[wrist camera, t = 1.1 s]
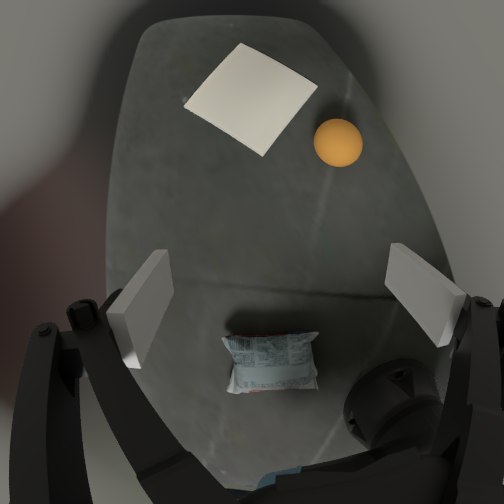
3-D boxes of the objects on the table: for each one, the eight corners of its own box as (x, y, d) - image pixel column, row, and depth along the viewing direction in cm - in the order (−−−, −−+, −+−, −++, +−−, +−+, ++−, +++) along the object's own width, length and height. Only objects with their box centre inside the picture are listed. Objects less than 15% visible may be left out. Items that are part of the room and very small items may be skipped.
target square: (317, 86, 30) (318, 86, 30) (262, 156, 32) (262, 156, 31) (240, 43, 30) (240, 42, 29) (183, 107, 31) (183, 106, 31)
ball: (361, 146, 31) (378, 134, 25) (338, 179, 32) (352, 172, 26) (325, 118, 31) (336, 102, 25) (301, 151, 31) (308, 139, 26)
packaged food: (314, 380, 35) (320, 400, 30) (228, 384, 36) (223, 404, 31) (316, 322, 34) (324, 337, 29) (222, 327, 35) (216, 343, 30)
